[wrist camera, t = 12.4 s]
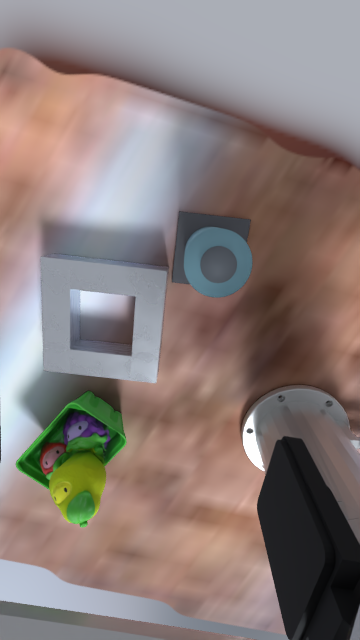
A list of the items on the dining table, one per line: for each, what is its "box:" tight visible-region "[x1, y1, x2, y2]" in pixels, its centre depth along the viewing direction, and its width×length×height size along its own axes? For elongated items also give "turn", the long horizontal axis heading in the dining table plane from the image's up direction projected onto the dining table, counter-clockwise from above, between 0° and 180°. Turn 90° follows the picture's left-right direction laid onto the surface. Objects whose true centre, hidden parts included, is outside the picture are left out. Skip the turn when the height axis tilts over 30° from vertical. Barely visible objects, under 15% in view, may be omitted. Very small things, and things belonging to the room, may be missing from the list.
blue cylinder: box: [184, 227, 252, 297], centre depth 27 cm, size 5×5×10 cm
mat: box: [172, 211, 251, 284], centre depth 31 cm, size 7×7×1 cm
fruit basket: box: [16, 391, 126, 527], centre depth 33 cm, size 11×9×11 cm
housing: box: [41, 254, 169, 383], centre depth 32 cm, size 12×12×3 cm
